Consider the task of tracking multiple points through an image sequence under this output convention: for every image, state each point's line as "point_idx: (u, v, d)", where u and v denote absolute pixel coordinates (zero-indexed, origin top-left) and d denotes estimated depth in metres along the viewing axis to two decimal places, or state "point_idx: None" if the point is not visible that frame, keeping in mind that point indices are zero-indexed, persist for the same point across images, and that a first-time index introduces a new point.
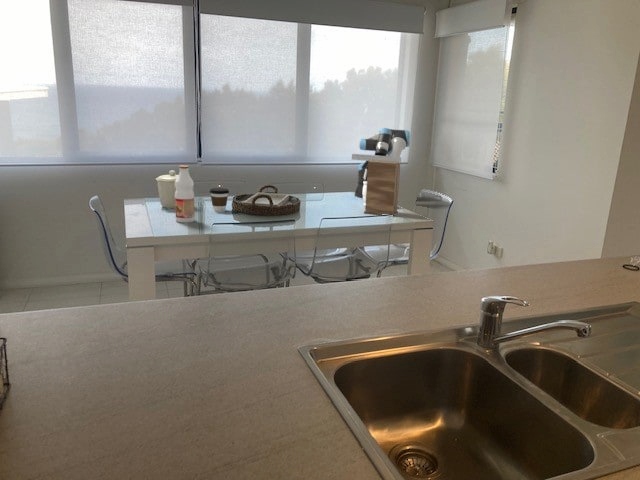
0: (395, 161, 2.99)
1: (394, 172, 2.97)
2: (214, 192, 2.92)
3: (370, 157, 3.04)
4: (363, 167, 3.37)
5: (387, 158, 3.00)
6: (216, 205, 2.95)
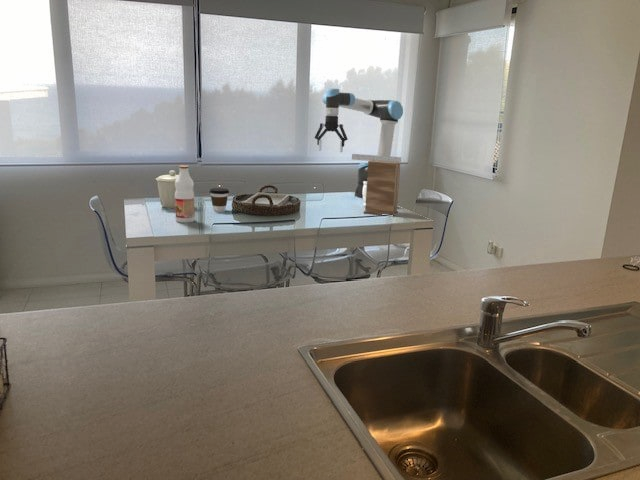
0: (395, 161, 2.99)
1: (394, 172, 2.97)
2: (214, 192, 2.92)
3: (370, 157, 3.04)
4: (316, 137, 3.22)
5: (387, 158, 3.00)
6: (216, 205, 2.95)
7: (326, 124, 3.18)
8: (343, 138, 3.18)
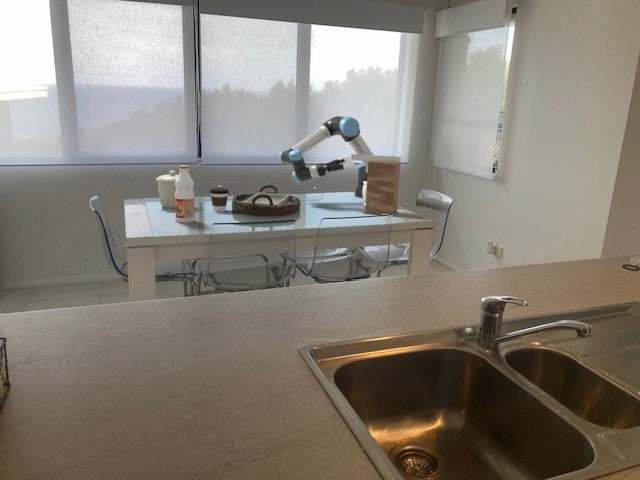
0: (396, 161, 3.01)
1: (394, 172, 2.97)
2: (214, 192, 2.92)
3: (370, 157, 3.03)
4: None
5: (388, 158, 3.02)
6: (216, 205, 2.95)
7: None
8: None
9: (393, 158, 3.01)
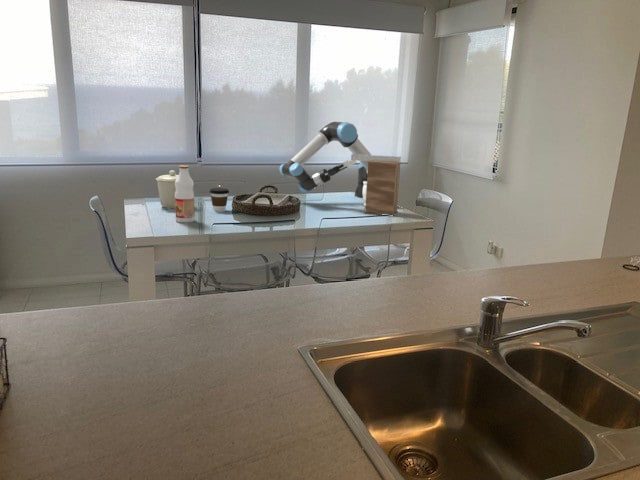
0: (396, 161, 3.01)
1: (394, 172, 2.97)
2: (214, 192, 2.92)
3: (370, 157, 3.03)
4: (346, 166, 3.21)
5: (388, 158, 3.02)
6: (216, 205, 2.95)
7: None
8: None
9: (393, 158, 3.01)
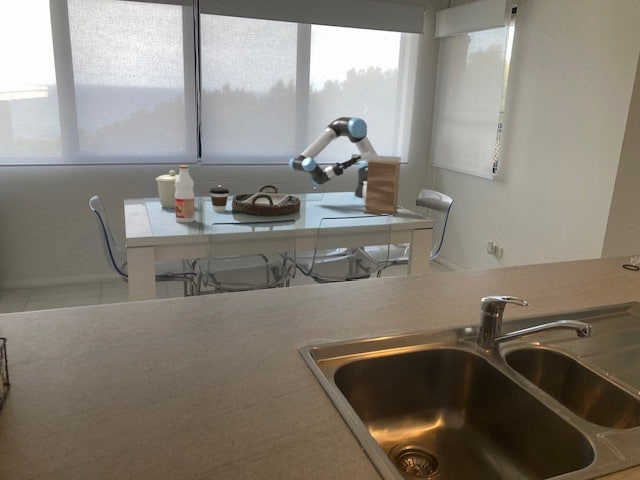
0: (396, 161, 3.01)
1: (394, 172, 2.97)
2: (214, 192, 2.92)
3: (370, 157, 3.03)
4: (360, 159, 3.15)
5: (388, 158, 3.02)
6: (216, 205, 2.95)
7: None
8: None
9: (393, 158, 3.01)
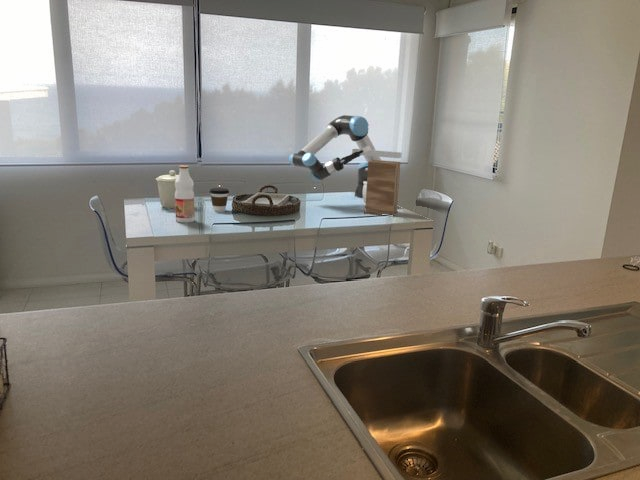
0: (395, 156, 2.98)
1: (394, 172, 2.97)
2: (214, 192, 2.92)
3: (370, 152, 3.03)
4: (360, 154, 3.12)
5: (387, 153, 3.00)
6: (216, 205, 2.95)
7: None
8: None
9: (393, 154, 2.99)
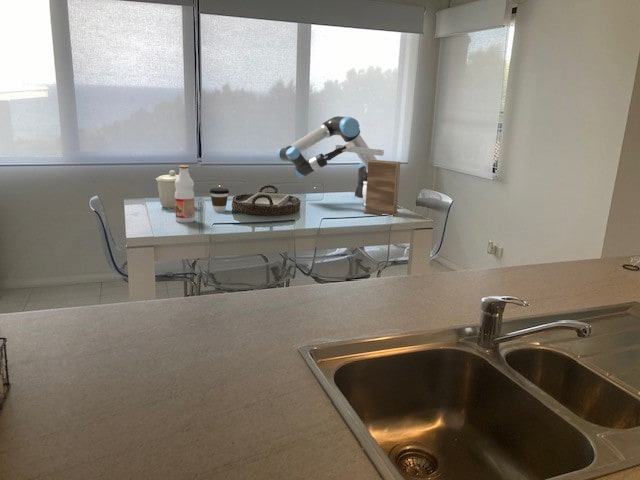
0: (378, 154, 3.02)
1: (394, 172, 2.97)
2: (214, 192, 2.92)
3: (353, 149, 3.06)
4: (343, 150, 3.15)
5: (370, 150, 3.03)
6: (216, 205, 2.95)
7: None
8: None
9: (375, 151, 3.02)
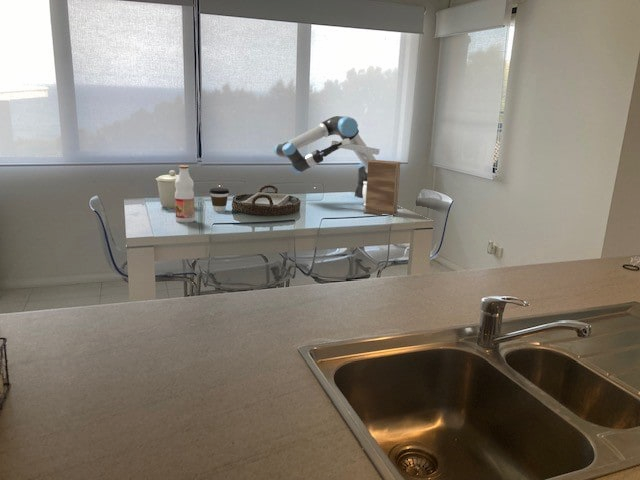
0: (373, 152, 3.02)
1: (394, 172, 2.97)
2: (214, 192, 2.92)
3: (349, 146, 3.06)
4: None
5: (365, 149, 3.03)
6: (216, 205, 2.95)
7: None
8: None
9: (370, 149, 3.02)
